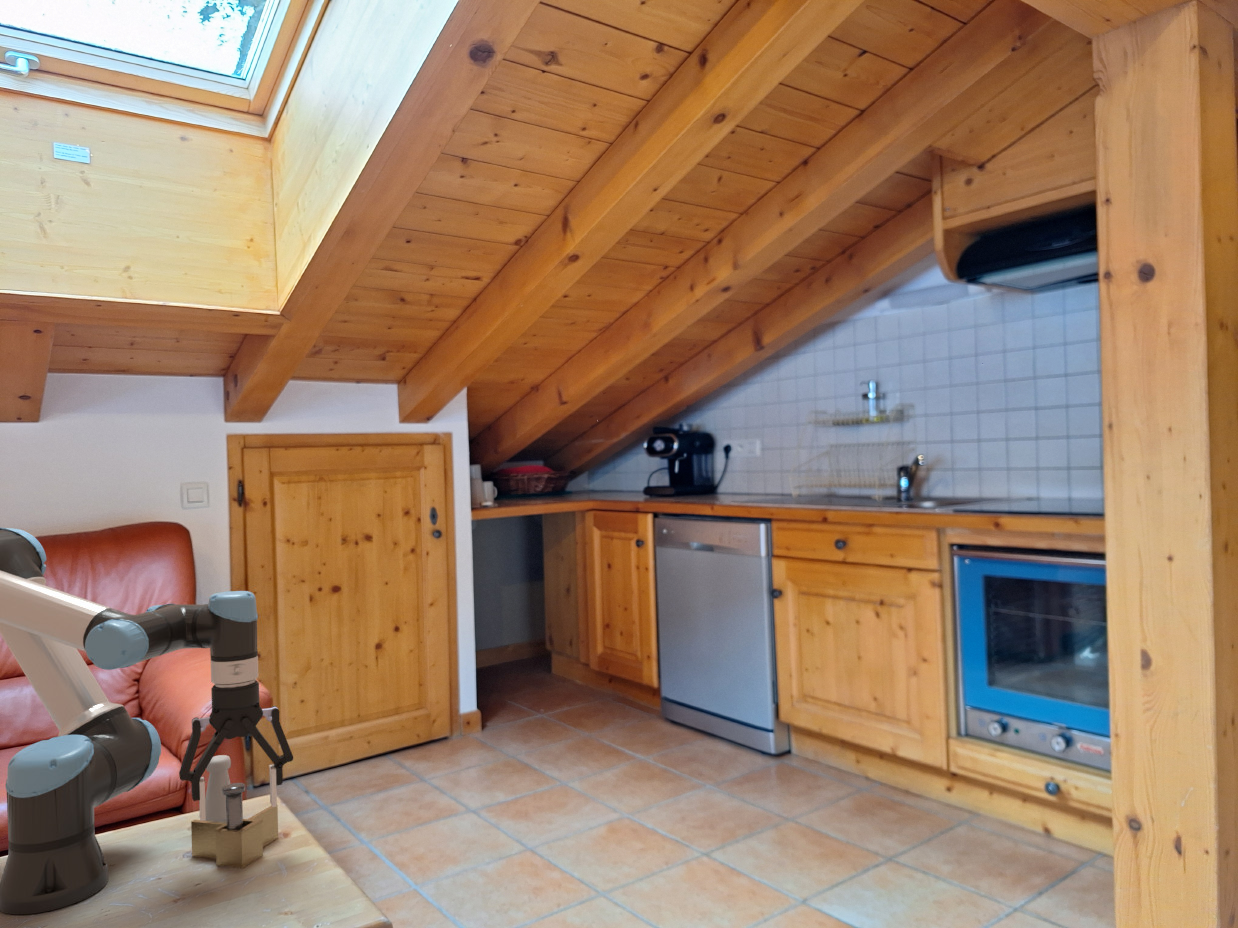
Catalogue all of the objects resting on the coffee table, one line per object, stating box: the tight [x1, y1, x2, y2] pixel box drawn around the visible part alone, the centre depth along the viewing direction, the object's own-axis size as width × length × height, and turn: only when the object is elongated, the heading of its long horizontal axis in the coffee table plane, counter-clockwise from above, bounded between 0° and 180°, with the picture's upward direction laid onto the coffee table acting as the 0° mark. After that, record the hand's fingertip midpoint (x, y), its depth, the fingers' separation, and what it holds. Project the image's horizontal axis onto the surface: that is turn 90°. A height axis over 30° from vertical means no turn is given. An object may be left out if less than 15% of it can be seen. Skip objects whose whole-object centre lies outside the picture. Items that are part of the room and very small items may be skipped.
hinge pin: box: [222, 782, 246, 830], centre depth 151 cm, size 4×4×13 cm
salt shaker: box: [205, 754, 232, 823], centre depth 167 cm, size 6×6×13 cm
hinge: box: [190, 804, 279, 869], centre depth 156 cm, size 12×12×6 cm
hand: (238, 811), depth 152 cm, fingers open, 10 cm apart
